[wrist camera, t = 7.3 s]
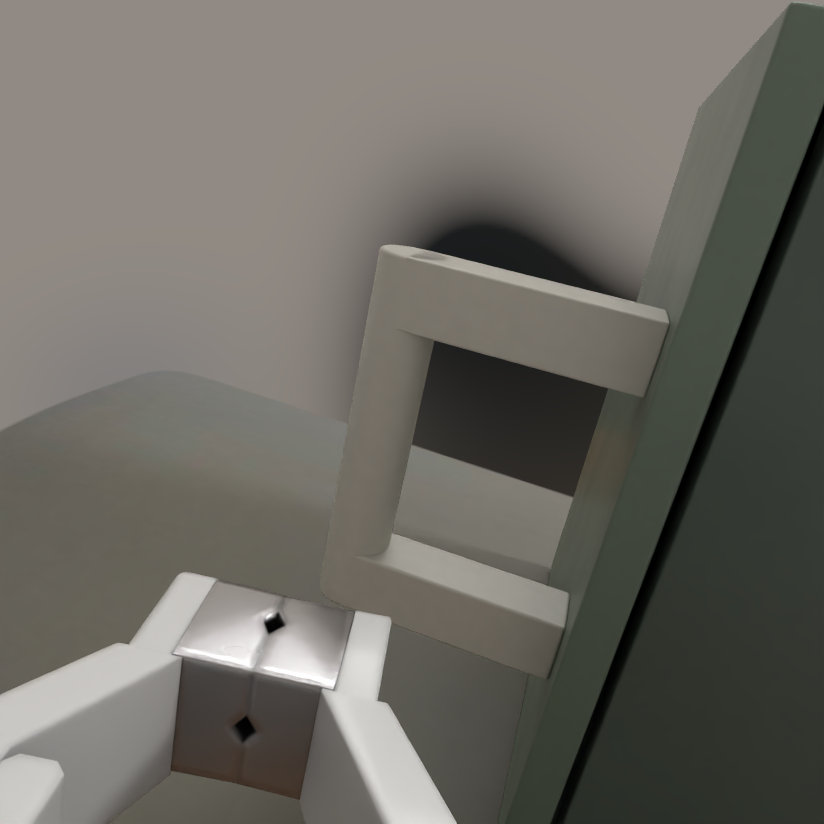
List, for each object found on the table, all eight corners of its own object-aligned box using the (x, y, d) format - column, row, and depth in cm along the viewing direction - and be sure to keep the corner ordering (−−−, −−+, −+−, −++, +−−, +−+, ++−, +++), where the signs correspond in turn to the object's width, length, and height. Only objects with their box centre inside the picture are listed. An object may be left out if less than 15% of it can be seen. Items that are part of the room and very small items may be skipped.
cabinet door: (262, 780, 19) (401, -62, 12) (422, 520, 34) (528, 73, 26) (524, 894, 17) (861, 10, 10) (573, 571, 32) (728, 111, 25)
